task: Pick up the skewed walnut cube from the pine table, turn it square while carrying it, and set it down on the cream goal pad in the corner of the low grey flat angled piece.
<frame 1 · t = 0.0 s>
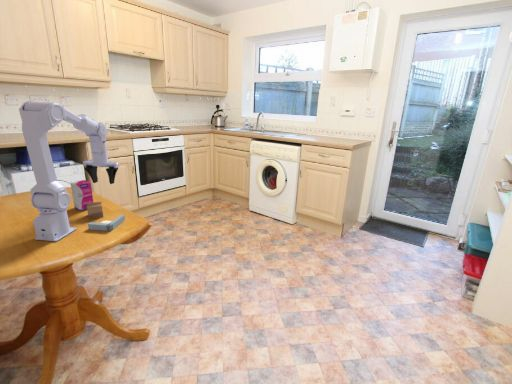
hand: (103, 182, 119), 10 cm above the table, fingers open, 7 cm apart
grey flat angled piece: (106, 224, 104), on the table
supplement box: (84, 208, 118), on the table
walnut cube: (96, 216, 111), on the table
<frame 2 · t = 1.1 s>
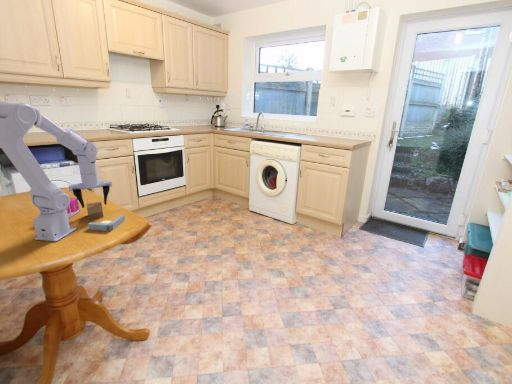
hand: (94, 205, 110), 4 cm above the table, fingers open, 7 cm apart
supplement box: (72, 204, 114), point 3 cm above the table
everything else where it was.
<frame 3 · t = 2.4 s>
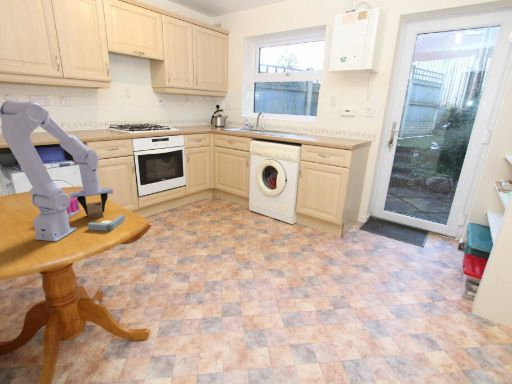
hand: (95, 212, 111), 1 cm above the table, fingers closed on walnut cube, 5 cm apart
walnut cube: (96, 215, 111), on the table, touching gripper
everything else where it was.
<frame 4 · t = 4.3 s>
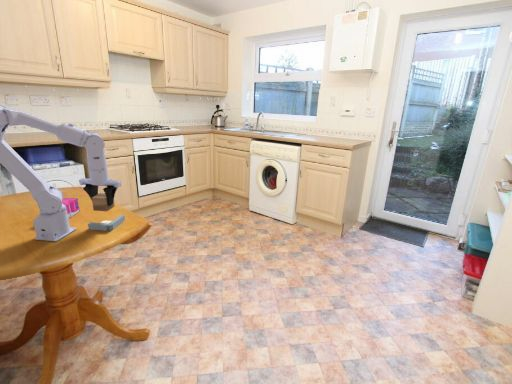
hand: (103, 204, 101), 8 cm above the table, fingers closed on walnut cube, 5 cm apart
walnut cube: (104, 208, 102), point 7 cm above the table, touching gripper
everything else where it was.
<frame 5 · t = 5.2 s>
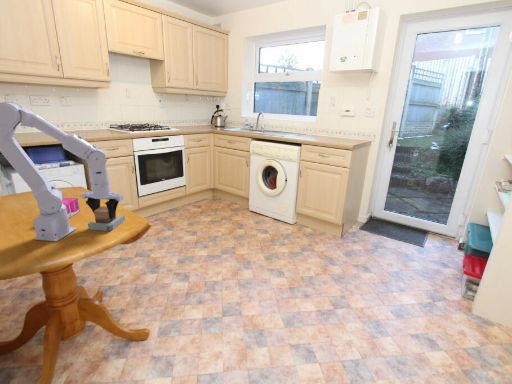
hand: (105, 217, 103), 3 cm above the table, fingers closed on walnut cube, 5 cm apart
walnut cube: (106, 221, 103), point 1 cm above the table, touching gripper
everything else where it was.
when the fingers open (3 cm above the table, at t = 6.2 s): walnut cube stays where it is, resting on grey flat angled piece.
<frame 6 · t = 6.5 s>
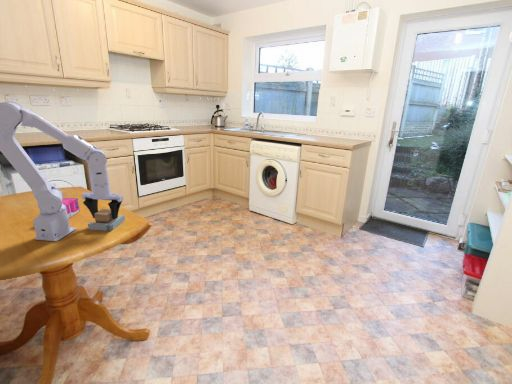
hand: (105, 217, 103), 3 cm above the table, fingers open, 7 cm apart
walnut cube: (106, 223, 104), resting on grey flat angled piece
everything else where it was.
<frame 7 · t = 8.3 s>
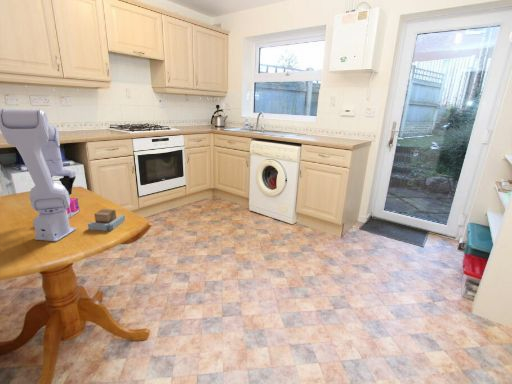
hand: (59, 194, 105), 10 cm above the table, fingers open, 7 cm apart
nothing on the table moved.
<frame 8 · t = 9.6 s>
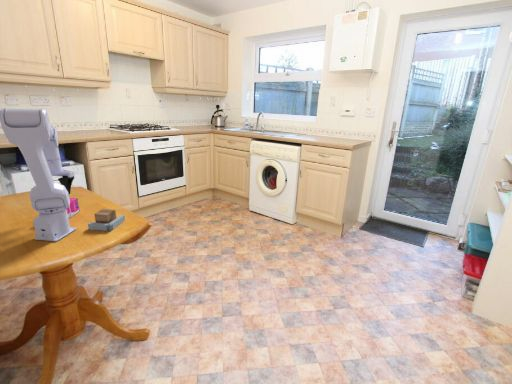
hand: (58, 194, 105), 10 cm above the table, fingers open, 7 cm apart
nothing on the table moved.
at the end: walnut cube 0.2 cm from the grey flat angled piece (horizontally); walnut cube tilted 0°; walnut cube resting on grey flat angled piece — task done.
